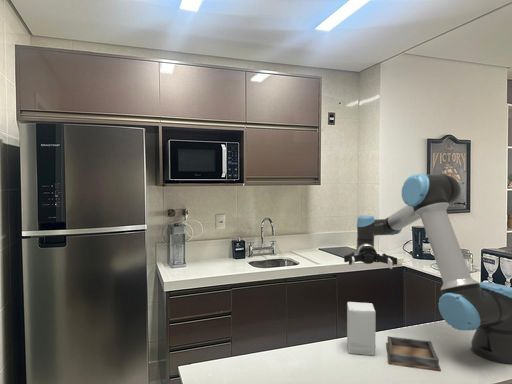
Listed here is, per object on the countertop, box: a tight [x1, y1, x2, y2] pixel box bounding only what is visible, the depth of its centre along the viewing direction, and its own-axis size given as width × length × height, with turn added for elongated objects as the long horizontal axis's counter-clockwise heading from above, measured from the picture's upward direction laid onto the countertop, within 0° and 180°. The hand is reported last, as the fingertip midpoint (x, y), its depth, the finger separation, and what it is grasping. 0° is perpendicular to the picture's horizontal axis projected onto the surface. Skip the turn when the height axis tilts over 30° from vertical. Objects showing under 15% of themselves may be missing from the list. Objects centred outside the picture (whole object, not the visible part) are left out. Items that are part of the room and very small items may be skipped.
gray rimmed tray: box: [385, 335, 442, 372], centre depth 118 cm, size 15×15×3 cm
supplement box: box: [346, 301, 377, 357], centre depth 123 cm, size 9×9×15 cm
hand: (372, 264), depth 134 cm, fingers open, 13 cm apart
